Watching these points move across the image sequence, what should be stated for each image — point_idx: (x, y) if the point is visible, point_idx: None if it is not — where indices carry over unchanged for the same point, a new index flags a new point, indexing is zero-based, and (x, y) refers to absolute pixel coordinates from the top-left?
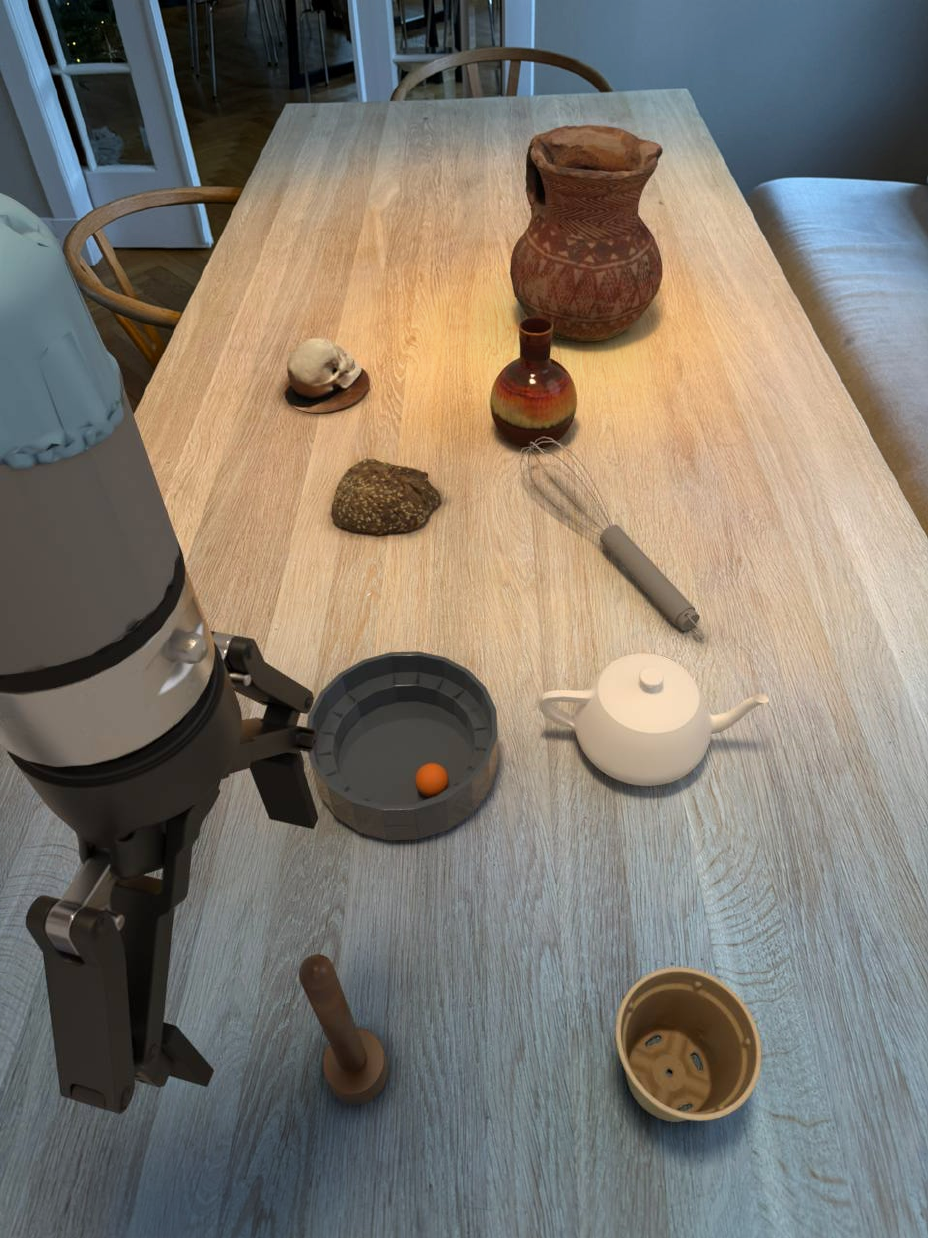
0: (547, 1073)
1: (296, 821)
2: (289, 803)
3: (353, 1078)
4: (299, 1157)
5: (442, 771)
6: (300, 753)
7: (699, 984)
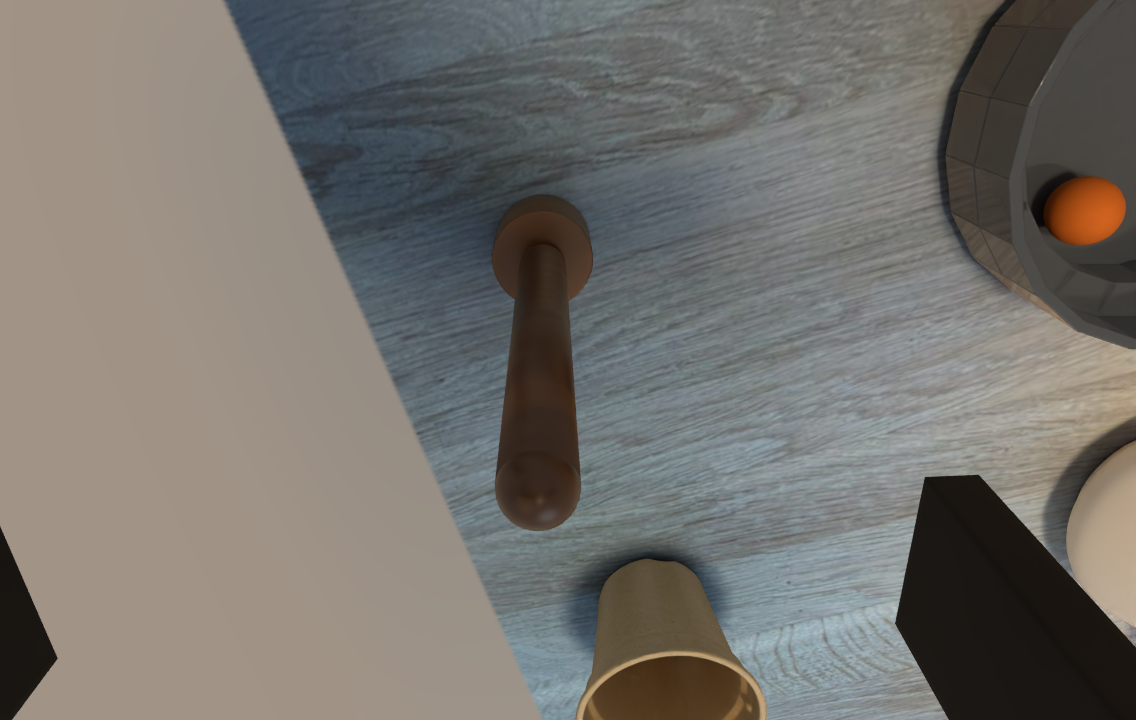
0: (615, 477)
1: (919, 597)
2: (993, 715)
3: (517, 270)
4: (405, 199)
5: (1104, 237)
6: None
7: (749, 709)
